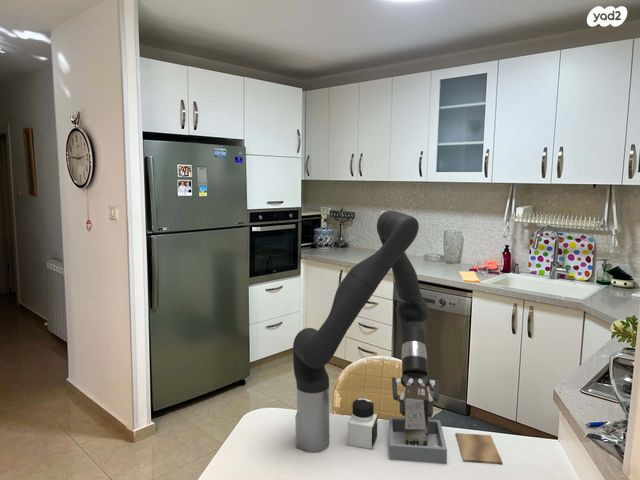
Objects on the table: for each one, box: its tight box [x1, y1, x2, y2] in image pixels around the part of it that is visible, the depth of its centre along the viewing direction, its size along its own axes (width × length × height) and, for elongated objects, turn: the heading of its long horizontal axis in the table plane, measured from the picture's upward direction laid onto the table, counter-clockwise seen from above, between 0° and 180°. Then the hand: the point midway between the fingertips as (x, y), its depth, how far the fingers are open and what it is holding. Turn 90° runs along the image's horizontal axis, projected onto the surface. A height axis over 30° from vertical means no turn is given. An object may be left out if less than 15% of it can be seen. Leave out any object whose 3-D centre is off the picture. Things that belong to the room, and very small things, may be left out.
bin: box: [388, 416, 448, 465], centre depth 128 cm, size 15×15×4 cm
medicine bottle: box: [347, 398, 378, 450], centre depth 130 cm, size 7×7×12 cm
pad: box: [455, 432, 503, 465], centre depth 127 cm, size 10×13×1 cm
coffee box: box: [404, 385, 429, 446], centre depth 127 cm, size 9×6×16 cm
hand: (416, 415), depth 127 cm, fingers closed on coffee box, 6 cm apart
